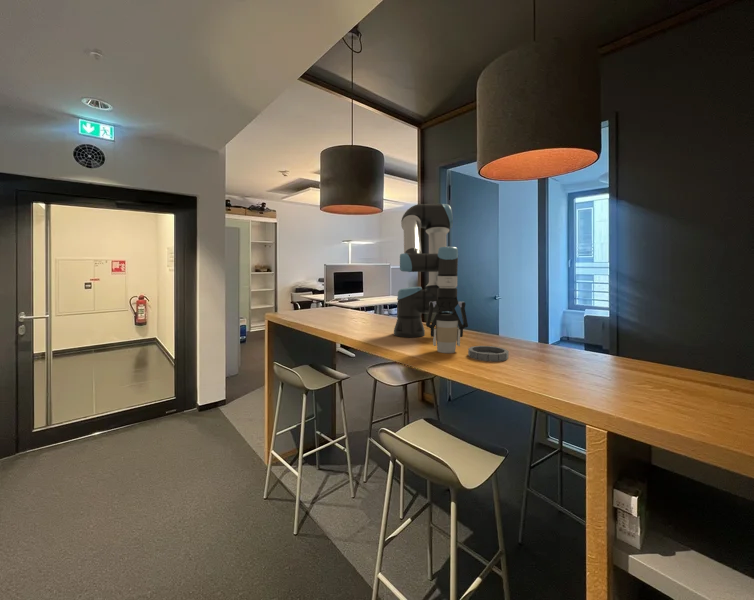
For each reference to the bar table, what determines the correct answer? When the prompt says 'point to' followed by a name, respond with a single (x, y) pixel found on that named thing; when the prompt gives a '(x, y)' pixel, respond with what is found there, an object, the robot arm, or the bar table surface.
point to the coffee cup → (446, 332)
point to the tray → (488, 353)
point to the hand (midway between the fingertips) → (446, 345)
